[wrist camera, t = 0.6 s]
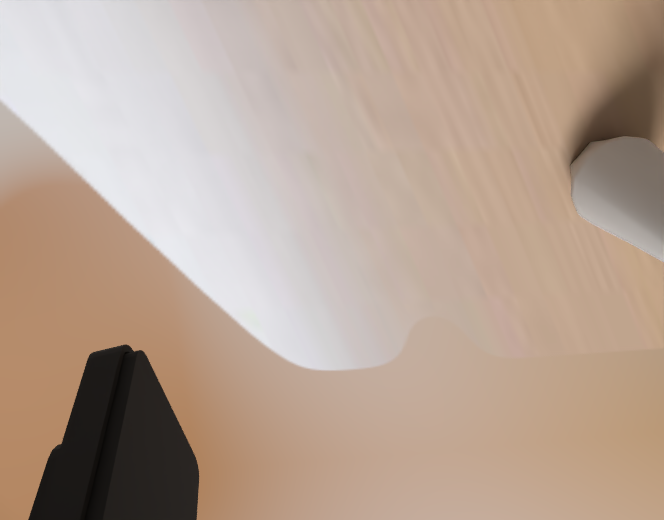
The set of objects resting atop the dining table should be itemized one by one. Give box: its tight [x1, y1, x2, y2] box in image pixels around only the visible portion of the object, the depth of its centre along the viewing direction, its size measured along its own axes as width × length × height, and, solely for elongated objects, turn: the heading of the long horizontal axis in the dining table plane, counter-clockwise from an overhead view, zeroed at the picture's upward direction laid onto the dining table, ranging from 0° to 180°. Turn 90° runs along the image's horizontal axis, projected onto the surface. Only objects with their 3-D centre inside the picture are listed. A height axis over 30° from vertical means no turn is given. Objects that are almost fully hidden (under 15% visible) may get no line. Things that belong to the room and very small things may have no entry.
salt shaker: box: [570, 136, 664, 262], centre depth 34 cm, size 6×6×13 cm
